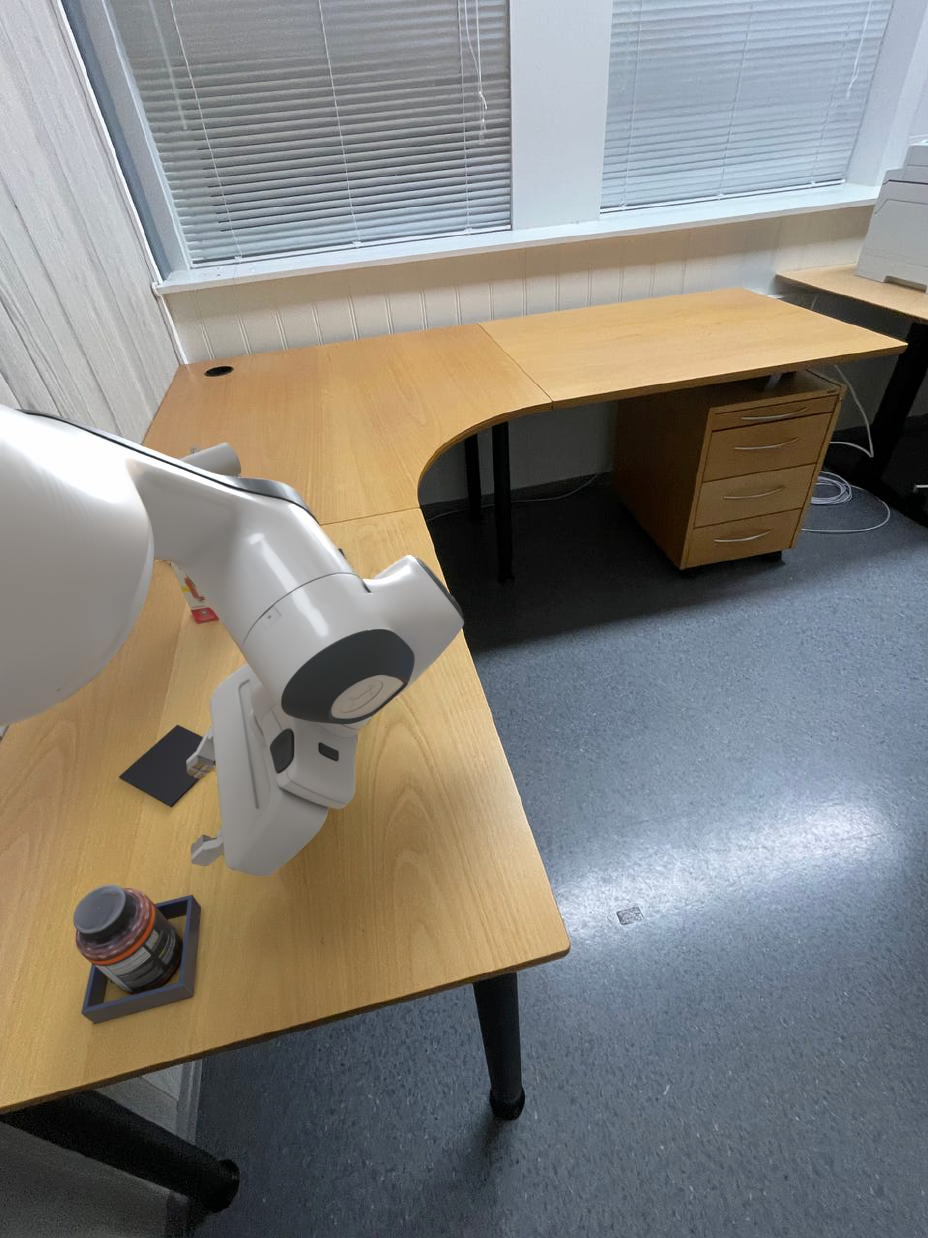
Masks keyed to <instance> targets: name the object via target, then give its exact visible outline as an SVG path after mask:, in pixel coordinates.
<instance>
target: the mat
mask: <svg viewBox="0 0 928 1238" xmlns="http://www.w3.org/2000/svg"><path fill="white" fill-rule="evenodd" d="M203 737H204V736H202V735H200V734H198V733H196V732H194V731H192V730H190V729H188V728H187V727H184V726H181V725H180V724H176V725H174V727H173V728H172V729H170V730H169V731H168V732H167V733H166V734H165V735H164V736H162V737H161V738H160V739H159V740H158V741H157V742H156V743H155V744H154V745H152V746H151V747H150V748H149V749H147V751H146V752H144V754H142V755H141V756H140V757H139V758H138V759H137V760H136V761H134V762H133V763H132V764H131V765H130V766H129V767H128V768H127V769H125V770H124V771H123V772H122V773H121V774H120V775H119V776H118V778H119V779H121V780H122V781H124V782H126V783H128V784H130V785H131V786H133V787H135V788H136V789H138V790H140V791H142V792H143V793H145V794H147V795H149V796H150V797H152V798H154V799H156V800H158V801H159V802H161V803H163V804H165V805H166V806H168V807H170V808H172V807H174V805H176V803H178V802H179V801H180V800H181V799H182V798H183V796H184V795H186V794H187V793H188V792H189V791H190V790H191V789H192V788H193V787H194V785H196V784H197V783H198V782H199V781H200V779H197V778H195V777H194V776H189V775H188V774H187V764H186V761H187V760H188V759H189V758H190V757H191V756H192V755H193V754H194V753H195V752H196V751H197V749H198V747H199V745H200V743H201V741H202V739H203ZM214 765H216V762H215V761H214Z"/></svg>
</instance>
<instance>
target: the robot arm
mask: <svg viewBox="0 0 928 1238" xmlns="http://www.w3.org/2000/svg"><path fill="white" fill-rule="evenodd" d="M338 549H339V548H338V547H337V546H336V545H335V543H334V542H333V541H332V540H331V538H329V536H328V535H327V533H326V532H325V531H324V529H322V527H321V524H320V522H319V521H318V519H317V518H316V516H315V515H314V514H313V512H312V510H311V508H310V507H309V506H308V504H307V503H306V502H305V500H304V498H303V496H302V494H300V493H299V492H298V491H297V490H296V489H295V488H294V487H292V486H290V485H288V484H286V483H284V482H281V481H277V480H273V479H268V478H256V477H243V476H241V477H236V476H234V477H231V476H224V475H219V474H215V473H211V472H208V471H205V470H202V469H200V468H197V467H195V466H192V465H190V464H187V463H184V462H182V461H179V460H178V458H175V457H172V456H170V455H167V454H164V453H162V452H160V451H156V450H154V449H152V448H149V447H146V446H144V445H142V444H139V443H137V442H134V441H131V440H128V439H126V438H124V437H121V436H119V435H116V434H113V433H110V432H108V431H105V430H103V429H100V428H97V427H94V426H91V425H88V424H87V423H83V422H79V421H76V420H74V419H70V418H67V417H64V416H61V415H56V414H52V413H49V412H43V411H39V410H31V409H23V408H12V407H11V406H7V405H5V404H3V403H0V728H4V727H7V726H11V725H15V724H18V723H21V722H24V721H28V720H30V719H33V718H36V717H38V716H40V715H42V714H45V713H46V712H48V711H50V710H51V709H53V708H56V706H58V705H60V704H61V703H63V702H66V701H67V700H68V699H70V697H73V696H74V695H75V694H77V693H78V692H80V691H81V690H82V689H83V688H84V687H86V686H87V685H89V684H90V683H91V682H92V681H93V680H95V678H96V677H98V676H99V674H100V673H102V671H104V669H106V667H107V666H108V665H109V664H110V663H111V662H112V661H113V659H114V658H115V657H116V656H117V654H118V653H119V652H120V650H121V649H122V648H123V646H124V645H125V644H126V642H127V641H128V639H129V637H130V635H131V633H132V632H133V629H134V628H135V626H136V624H137V622H138V620H139V617H140V615H141V613H142V610H143V609H144V606H145V602H146V601H147V597H148V594H149V591H150V586H151V582H152V578H153V572H154V560H159V561H165V562H170V563H171V562H172V563H174V564H175V565H176V566H178V567H179V568H180V569H181V570H182V571H183V572H184V573H185V574H186V576H187V577H188V578H189V579H190V581H191V582H192V583H193V585H194V586H195V587H196V588H197V589H198V590H199V591H200V593H201V594H202V595H203V597H204V598H205V599H206V601H207V602H208V604H209V605H210V607H211V608H212V610H213V611H214V613H215V614H216V615H217V617H218V618H219V619H218V620H219V622H220V623H221V624H222V627H224V629H225V631H226V632H227V634H228V635H229V637H230V638H231V639H232V641H233V642H234V644H235V645H236V647H237V648H238V650H239V651H240V653H241V654H242V656H243V657H244V660H245V661H246V662H245V663H243V665H241V666H240V667H239V668H238V669H236V670H235V671H233V672H232V673H231V674H229V676H228V677H226V678H225V679H224V680H222V682H220V683H219V684H218V685H217V686H216V688H215V689H214V691H213V692H212V694H211V696H210V698H209V711H210V719H211V720H210V721H211V726H210V727H209V728H208V729H207V730H206V732H205V733H204V735H203V736H202V737H203V739H202V741H201V743H200V745H199V747H198V749H197V751H196V752H195V753H194V754H193V755H192V756H191V757H190V758H189V759H188V760H187V761H186V764H187V774H188V775H189V776H194V777H195V778H197V779H199V780H201V779H204V778H205V777H207V775H208V774H209V773H211V771H213V770H214V769H215V771H216V772H215V773H216V782H217V790H218V791H217V792H218V793H217V794H218V803H219V811H220V813H219V814H220V823H221V827H220V829H218V831H217V832H216V837H211V836H210V835H206V834H201V835H199V837H198V838H197V839H196V840H195V842H192V843H191V845H190V862H191V864H192V865H197V866H201V867H208V866H210V865H212V864H213V863H214V862H215V861H216V860H217V859H219V858H220V857H221V856H224V864H225V866H226V867H227V868H228V869H229V870H232V871H234V872H238V873H242V874H244V875H249V876H253V877H268V876H269V877H270V876H271V875H273V874H275V873H276V872H278V871H279V870H280V869H282V868H283V867H284V866H285V865H286V864H287V863H288V862H289V861H291V860H292V859H293V858H294V857H295V856H296V855H297V854H298V853H299V852H300V851H301V850H302V849H303V848H304V847H306V845H307V844H309V842H311V840H313V838H314V837H316V835H317V834H318V833H319V832H320V830H321V829H322V827H323V826H324V824H325V822H326V820H327V817H328V813H329V808H330V809H333V810H342V809H343V808H345V807H346V806H348V805H349V804H350V803H351V802H352V801H353V799H354V797H355V793H356V758H357V757H356V756H357V747H358V741H359V738H358V733H359V732H361V731H362V730H363V729H364V728H365V727H366V726H367V725H368V724H369V723H370V721H372V718H373V716H374V715H376V714H377V713H378V712H380V711H381V710H383V708H384V707H385V706H387V705H388V704H389V703H390V702H391V701H393V699H395V698H396V697H399V696H400V695H402V694H403V693H404V692H406V690H407V689H409V687H411V686H412V685H413V684H414V683H415V682H416V681H417V680H418V679H419V678H420V677H421V676H422V675H424V673H425V672H426V671H427V670H428V669H429V668H431V666H432V665H433V664H434V663H435V662H436V661H437V660H438V658H439V657H440V656H441V655H442V654H443V653H444V652H445V651H446V650H447V648H448V647H449V646H450V645H451V644H452V643H453V641H454V640H455V639H456V637H457V636H458V635H459V633H460V632H461V630H462V628H463V627H464V625H465V620H464V613H463V611H462V608H461V606H460V605H459V603H458V602H457V600H456V598H455V597H454V596H452V594H451V592H449V589H448V588H447V587H446V586H445V584H443V582H442V581H441V580H440V578H439V577H438V576H437V575H436V574H435V573H434V571H433V570H432V569H431V568H430V567H429V566H428V565H427V563H425V562H424V561H423V560H422V559H420V558H419V557H417V556H414V555H413V554H408V555H405V556H402V557H401V558H399V559H397V560H396V561H395V562H393V563H391V564H390V565H388V566H387V567H386V568H384V569H383V570H382V571H380V572H379V573H378V574H376V575H375V576H374V577H373V578H371V579H370V578H363V579H362V578H361V576H360V575H359V574H358V573H357V571H356V570H355V569H354V568H353V567H352V565H351V564H350V563H349V561H348V560H347V558H346V557H345V558H346V559H345V558H344V556H345V555H344V556H343V555H342V554H341V553H340V551H339V550H338ZM214 761H215V762H216V763H215V764H214Z"/></svg>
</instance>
